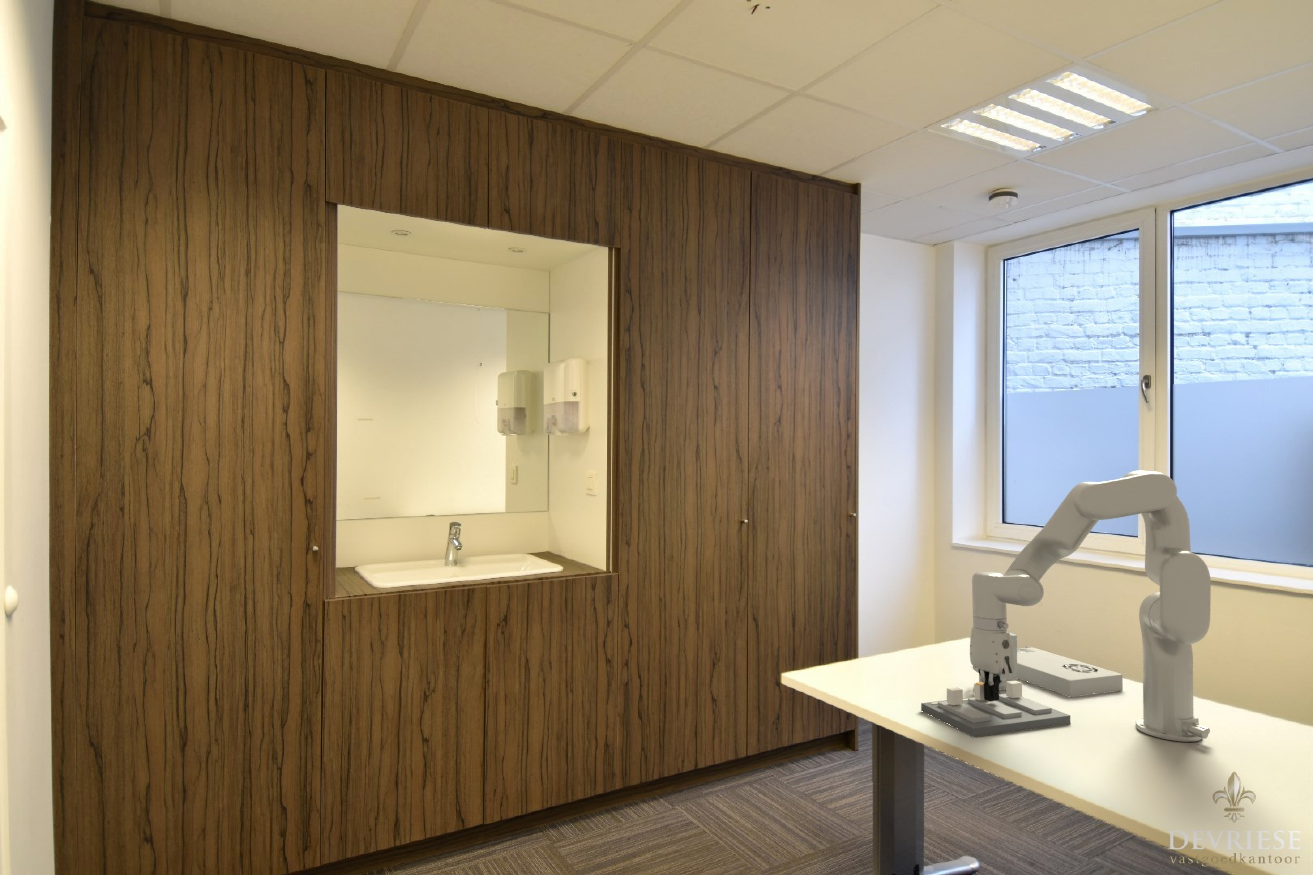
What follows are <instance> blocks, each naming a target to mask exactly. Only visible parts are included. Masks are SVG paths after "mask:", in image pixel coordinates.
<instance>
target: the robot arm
mask: <svg viewBox="0 0 1313 875" xmlns="http://www.w3.org/2000/svg"><path fill="white" fill-rule="evenodd" d="M1177 494H1178V488H1177V485H1176V483H1175V482H1174V480H1173V479H1172V478H1171V477H1170V476H1168V475H1167V474H1165V473H1162V472H1159V471H1148V470H1134V471H1130V472H1128V473H1126V474H1124V475H1123V476H1122V477H1121V478H1118V479H1113V480H1108V481H1107V480H1106V481H1101V482H1096V481H1084V482H1080V483H1077V484H1076V485H1074V487H1072V489H1071V490H1070V491H1069V492H1068V494H1067V495H1066V497H1065V498H1064V499H1063V500H1062V502H1061V503H1060V504H1059V505H1058V507H1057V509H1056V510H1055V512H1053V514H1052V515H1051V517H1050V518H1049V520H1048V521H1047V522H1046V523H1045V524H1044V526H1043V527H1042V529H1041V530H1040V531H1039V532H1038V533H1037V534H1035V536H1034V537H1033V539H1031V540H1030V542H1029V543H1027V544H1026V545H1025V547H1024V548H1023V549H1022V550H1021V551H1020V552H1019V554H1018V555H1017V556H1016V557H1015V559H1014V560H1013V561H1012V562H1011V563H1010V565H1009V567H1008V568H1007V570H1006V571H1005V573H1004V574H1002V573H1000V572H996V571H978V572H975V573H973V575H972V577H971V589H972V591H971V592H972V594H971V595H972V627H971V631H970V638H969V639H970V641H969V659H970V661H969V662H970V664H971V665H972V669H973V671H975V672H976V673H978V675H979V674H980V676H981V681H982V682H983V683H984V699H985V700H988V701H990V702H991V701H998V700H999V694H1000V690H999V684H1001V682H1002V681H1006V680H1010V675H1009V673H1013V672H1014V654H1013V646H1012V640H1011V636H1010V633H1011V632H1010V631H1008V628H1009V623H1008V622H1007V621H1008V620H1007V605H1008V604H1009V605H1016V606H1021V607H1032V606H1035V605H1037V604H1039V603H1040V602H1041V601H1042V600H1043V597H1044V594H1045V591H1044V590H1045V589H1044V587H1043V584H1042V583H1041V581H1040V580H1041V579H1042V578H1043V577H1044V575H1046V573H1047V572H1048V571H1049V569H1050V568H1051V567H1052V566H1053V565H1055V564H1056V563H1057V562H1059V561H1060V560H1063V559H1065V558H1067V557H1069V556H1071V555H1072V554H1073V553H1075V552H1076V551H1077V550H1078V549H1079V547H1080V546H1081V545H1082V544H1083V542H1084V541H1085V539H1086V538H1087V536H1088V535H1089V534H1090V532H1091V531H1092V530H1093V529H1094V527H1095V526H1096V524H1098V522H1099V521H1103V520H1104V521H1105V520H1112V519H1113V520H1114V519H1119V518H1126V517H1129V516H1135V515H1139V514H1141V516H1142V518H1143V521H1144V528H1145V529H1144V530H1145V531H1144V532H1145V551H1144V552H1145V554H1144V555H1145V556H1144V571H1145V574H1146V576H1147V577H1148V579H1149V580H1150V581H1151V582H1152V583H1154V584H1156V585H1157V586H1159V591H1158V592H1157V591H1156V592H1154V593H1151V594H1149V595H1147V596H1146V597H1145V598H1144V599H1143V600H1142V602H1141V603H1140V606H1139V610H1138V616H1139V617H1138V619H1139V626H1140V631H1141V632H1140V634H1141V640H1142V642H1141V643H1142V644H1141V645H1142V699H1143V700H1142V705H1143V706H1142V707H1143V708H1142V710H1143V711H1142V712H1143V714H1142V716H1143V718H1141V717H1140V718H1137V720H1135V728H1136V729H1138V730H1139V731H1140V732H1142V733H1144V734H1146V735H1149V736H1152V737H1154V738H1159V739H1161V740H1162V739H1163V740H1168V741H1174V742H1184V743H1186V742H1187V743H1190V742H1198V741H1201V740H1202V739H1208V738H1209V734H1210V732H1211V730H1210V728H1209V727H1206V726H1203V725H1200V723H1199V717H1197V716H1194V715H1195V714H1194V654H1193V646H1192V645H1193V644H1196V643H1198V642H1200V641H1202V640H1203V639H1204V638H1205V637H1206V635H1207V633H1208V632H1209V630H1210V629H1209V628H1210V623H1211V600H1212V599H1211V598H1212V597H1211V596H1212V594H1211V593H1212V592H1211V591H1212V590H1211V588H1212V586H1211V583H1212V582H1211V574H1210V570H1209V568H1208V566H1207V563H1205V561H1204V559H1202V557H1200V556H1199V555H1198V554H1196V553H1194V552H1192V551H1191V532H1190V531H1191V530H1190V519H1189V515H1188V512H1187V510H1186V508H1185V506H1184V504H1183V502H1182V501H1181V499H1180V497H1179V496H1177ZM995 675H996V676H995Z"/></svg>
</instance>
